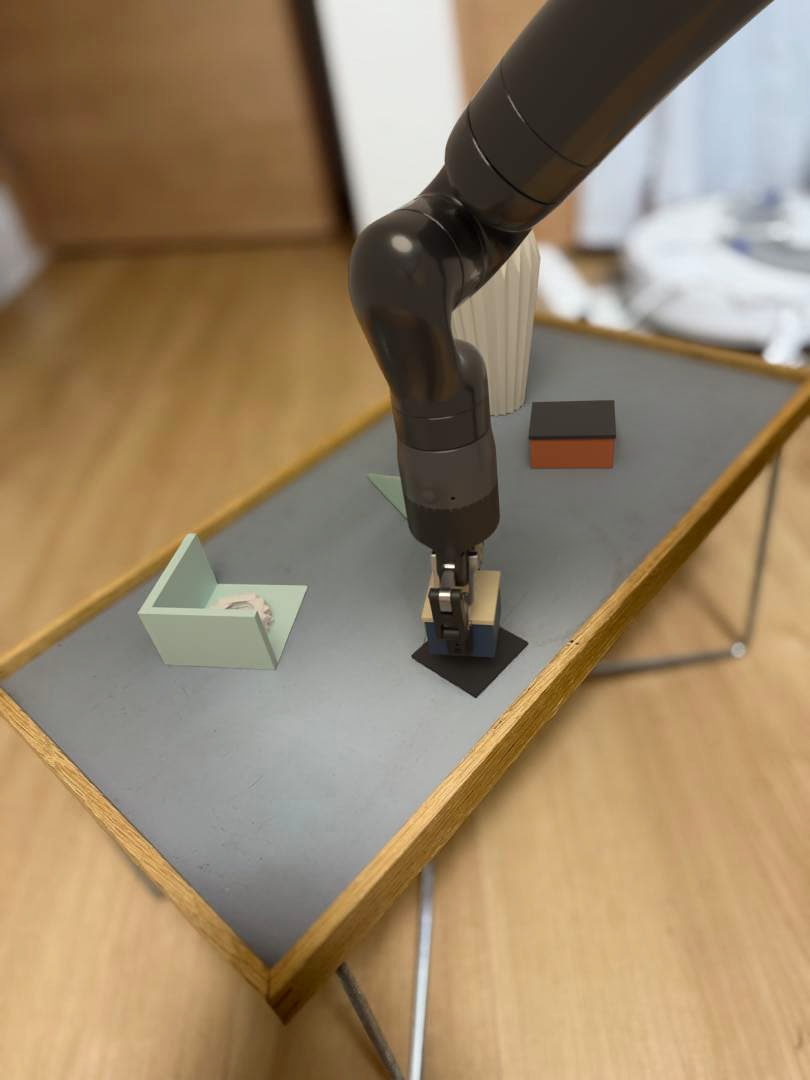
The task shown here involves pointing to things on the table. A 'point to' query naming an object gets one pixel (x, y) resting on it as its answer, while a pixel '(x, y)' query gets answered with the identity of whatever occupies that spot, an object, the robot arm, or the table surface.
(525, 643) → the mat
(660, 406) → the table surface
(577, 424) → the bottom container
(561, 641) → the table surface
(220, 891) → the table surface
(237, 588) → the right angle wall
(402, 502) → the planter
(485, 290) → the vase
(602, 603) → the table surface
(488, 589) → the top container
